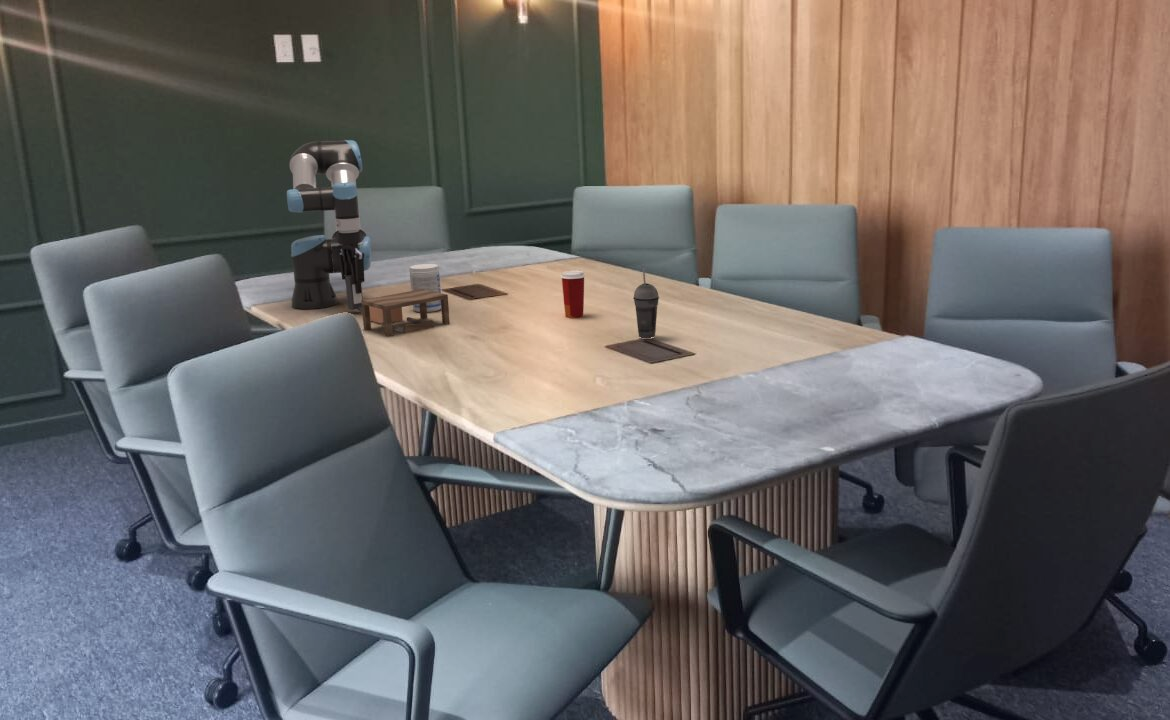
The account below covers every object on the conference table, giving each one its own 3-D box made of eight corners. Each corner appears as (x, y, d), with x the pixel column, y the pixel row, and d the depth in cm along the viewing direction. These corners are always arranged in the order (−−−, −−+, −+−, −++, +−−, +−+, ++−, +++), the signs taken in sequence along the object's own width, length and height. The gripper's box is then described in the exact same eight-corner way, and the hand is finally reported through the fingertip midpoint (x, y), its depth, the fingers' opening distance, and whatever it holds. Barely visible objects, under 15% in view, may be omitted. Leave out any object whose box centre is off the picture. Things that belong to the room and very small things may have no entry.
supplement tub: (446, 310, 333) (443, 266, 329) (420, 314, 328) (417, 269, 324) (434, 305, 341) (431, 262, 337) (408, 309, 336) (404, 265, 332)
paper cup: (590, 314, 320) (589, 270, 316) (580, 319, 313) (578, 275, 309) (568, 313, 323) (566, 269, 319) (557, 318, 316) (555, 273, 313)
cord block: (344, 313, 333) (340, 276, 330) (363, 309, 337) (359, 273, 334) (383, 324, 315) (380, 285, 312) (402, 320, 320) (399, 281, 316)
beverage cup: (642, 341, 283) (641, 271, 278) (629, 336, 290) (627, 267, 284) (664, 338, 287) (663, 268, 281) (651, 333, 293) (650, 264, 288)
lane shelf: (363, 329, 310) (361, 300, 307) (424, 317, 324) (422, 289, 321) (388, 336, 299) (385, 306, 297) (449, 323, 314) (447, 294, 311)
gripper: (326, 230, 330) (333, 301, 337) (350, 234, 319) (357, 307, 325) (346, 227, 335) (353, 297, 341) (371, 231, 324) (377, 303, 330)
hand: (355, 302), depth 333 cm, fingers closed on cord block, 3 cm apart
